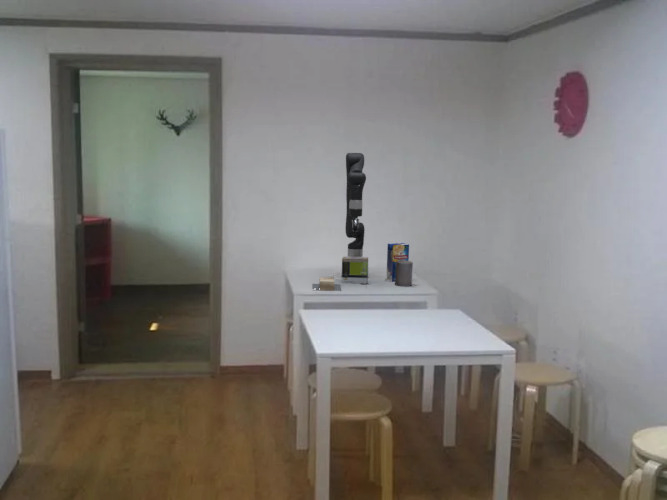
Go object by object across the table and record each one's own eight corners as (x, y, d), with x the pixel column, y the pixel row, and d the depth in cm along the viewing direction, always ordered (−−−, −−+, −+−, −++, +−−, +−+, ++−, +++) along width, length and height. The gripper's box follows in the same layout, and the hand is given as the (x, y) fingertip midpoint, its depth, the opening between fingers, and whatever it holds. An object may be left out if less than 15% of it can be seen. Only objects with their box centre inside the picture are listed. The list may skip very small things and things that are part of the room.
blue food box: (407, 280, 434) (409, 244, 431) (392, 281, 429) (393, 245, 426) (401, 278, 440) (403, 243, 437) (386, 279, 435) (387, 243, 432)
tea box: (368, 281, 429) (368, 256, 427) (367, 284, 419) (367, 259, 417) (342, 280, 430) (343, 255, 428) (341, 283, 420) (341, 258, 418)
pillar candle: (392, 283, 423) (393, 258, 420) (407, 282, 426) (408, 257, 424) (399, 286, 414) (400, 261, 411) (414, 286, 417) (415, 260, 415)
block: (319, 277, 408) (319, 281, 395) (333, 277, 408) (334, 281, 395) (319, 285, 409) (319, 290, 396) (333, 286, 409) (334, 290, 396)
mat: (312, 284, 415) (312, 283, 415) (340, 284, 415) (340, 284, 415) (312, 290, 395) (312, 290, 395) (341, 291, 396) (341, 290, 396)
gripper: (348, 206, 418) (348, 236, 420) (349, 208, 405) (348, 239, 407) (361, 207, 418) (360, 236, 420) (362, 208, 405) (361, 239, 407)
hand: (354, 237), depth 414 cm, fingers closed
